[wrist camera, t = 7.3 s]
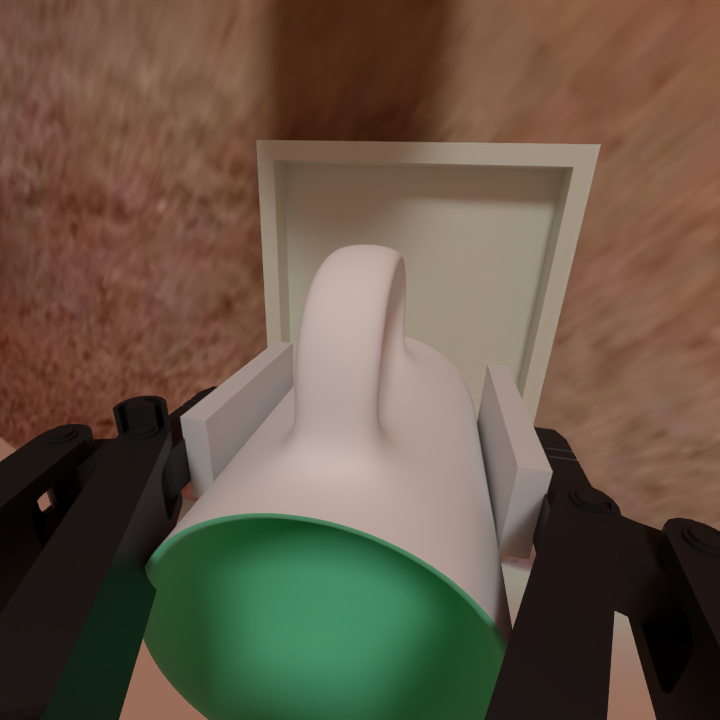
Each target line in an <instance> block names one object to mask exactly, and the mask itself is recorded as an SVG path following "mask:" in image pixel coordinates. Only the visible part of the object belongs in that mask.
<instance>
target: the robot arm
mask: <svg viewBox="0 0 720 720" xmlns="http://www.w3.org/2000/svg"><path fill="white" fill-rule="evenodd" d="M293 386H294V372H293V343H287V342H277V341H276V342H274V343H273V344H272V345H271V346H269V347H268V348H267V349H266V350H264V351H263V352H262V353H261V354H259V355H258V356H257V357H255V358H254V359H253V360H252V361H250V362H249V363H248V364H247V365H245V366H244V367H243V368H242V369H240V370H239V371H238V372H236V373H235V374H234V375H233V376H231V377H230V378H229V379H228V380H226V381H225V382H224V383H222V384H221V385H220V386H219V387H214V386H213V387H211V388H208V389H206V390H203V391H201V392H199V393H198V394H197V395H195V396H194V397H193V398H191V400H189V401H187V402H186V403H185V404H183V406H181V407H179V408H178V409H177V410H175V411H174V412H173V413H171V414H170V415H168V409H167V403H166V400H165V399H164V398H162V397H158V396H140V397H135V398H131V399H127V400H125V401H123V402H121V403H119V404H117V405H116V406H115V407H114V408H113V411H114V416H115V420H116V424H117V429H118V433H119V435H118V436H117V438H115V439H94V438H93V434H92V430H91V428H90V427H88V426H87V425H82V424H67V425H64V426H63V425H62V426H58V427H56V428H54V429H51V430H48V431H46V432H44V433H42V434H41V435H39V436H37V437H36V438H34V439H33V440H31V441H30V442H28V443H27V444H25V445H24V446H23V447H21V448H20V449H18V450H17V451H15V452H14V453H12V454H11V455H9V456H8V457H7V458H5V459H4V460H2V461H1V462H0V720H119V717H120V714H121V711H122V707H123V704H124V700H125V697H126V693H127V690H128V687H129V683H130V680H131V676H132V673H133V670H134V666H135V663H136V659H137V656H138V653H139V649H140V646H141V643H142V639H143V636H144V632H145V629H146V626H147V622H148V619H149V615H150V612H151V609H152V605H153V602H154V598H155V595H156V592H157V590H156V588H155V587H154V586H153V585H152V583H151V582H150V581H149V579H148V577H147V575H146V572H145V565H146V563H147V562H148V560H149V559H150V557H151V556H152V555H153V553H154V552H155V551H156V550H157V549H158V547H159V546H160V545H161V544H162V543H163V541H164V540H165V539H166V538H167V537H168V535H169V534H170V533H171V532H172V531H173V529H174V528H175V527H176V524H177V520H178V517H179V513H180V510H181V507H182V493H181V490H182V489H183V488H184V487H185V486H186V485H187V484H188V483H189V482H190V485H191V491H192V497H195V498H200V497H201V496H202V495H203V494H204V492H205V491H206V490H207V489H208V488H209V486H210V485H211V484H212V483H213V482H214V480H215V479H216V478H217V477H218V476H219V475H220V473H221V472H222V471H223V470H224V469H225V467H226V466H227V465H228V464H229V463H230V461H231V460H232V459H233V458H234V457H235V455H236V454H237V453H238V452H239V451H240V449H241V448H242V447H243V446H244V445H245V443H246V442H247V441H248V440H249V439H250V437H251V436H252V435H253V434H254V433H255V432H256V430H257V429H258V428H259V427H260V426H261V424H262V423H263V422H264V421H265V420H266V418H267V417H268V416H269V415H270V414H271V412H272V411H273V410H274V409H275V408H276V406H277V405H278V404H279V403H280V402H281V400H282V399H283V398H284V397H285V396H286V394H287V393H288V392H289V391H290V390H291V389H292V387H293ZM477 426H478V432H479V438H480V444H481V450H482V456H483V461H484V467H485V473H486V479H487V485H488V491H489V496H490V502H491V508H492V514H493V520H494V525H495V531H496V537H497V543H498V549H499V554H503V555H508V556H513V557H519V558H524V559H529V556H530V553H531V549H532V545H533V543H534V547H535V551H536V557H535V560H534V563H533V567H532V570H531V573H530V576H529V580H528V583H527V586H526V589H525V592H524V595H523V598H522V602H521V605H520V608H519V611H518V614H517V618H516V621H515V624H514V627H513V630H512V633H511V636H510V640H509V643H508V646H507V649H506V652H505V656H504V659H503V662H502V665H501V668H500V671H499V675H498V678H497V681H496V684H495V687H494V691H493V694H492V697H491V700H490V703H489V706H488V710H487V713H486V716H485V719H484V720H607V711H608V695H609V682H610V667H611V654H612V653H611V652H612V639H613V625H614V611H617V612H619V613H621V614H623V615H625V616H628V618H629V622H630V625H631V629H632V633H633V636H634V640H635V643H636V647H637V651H638V654H639V658H640V661H641V665H642V669H643V672H644V676H645V680H646V683H647V687H648V690H649V694H650V698H651V701H652V705H653V708H654V712H655V716H656V719H657V720H720V531H718V530H716V529H714V528H712V527H710V526H708V525H706V524H703V523H700V522H697V521H694V520H691V519H684V518H674V519H669V520H668V521H667V522H666V523H665V524H664V527H663V529H662V531H661V530H658V529H655V528H652V527H650V526H647V525H644V524H641V523H638V522H635V521H633V520H631V519H628V518H626V517H624V516H622V515H621V512H620V509H619V506H618V505H617V504H616V503H615V502H614V501H613V499H611V498H610V497H609V496H607V495H606V494H604V493H603V492H601V491H599V490H597V489H595V488H593V487H592V486H591V484H590V483H589V481H588V479H587V477H586V475H585V473H584V471H583V470H582V468H581V466H580V464H579V462H578V461H577V459H576V457H575V455H574V453H573V452H572V449H571V448H570V446H569V444H568V442H567V440H566V439H565V438H564V437H562V436H561V435H560V434H559V433H558V432H556V431H555V430H552V429H545V428H537V427H533V424H532V422H531V420H530V417H529V415H528V413H527V410H526V408H525V406H524V403H523V401H522V398H521V396H520V394H519V391H518V389H517V387H516V384H515V382H514V380H513V377H512V375H511V373H510V370H509V368H508V366H503V365H494V364H487V369H486V375H485V380H484V386H483V392H482V397H481V403H480V409H479V414H478V420H477ZM46 491H47V494H48V497H49V500H50V503H51V505H50V506H49V507H48V508H47V509H46V510H44V511H43V512H42V511H41V510H40V508H39V505H38V502H37V500H38V499H39V498H40V497H41V496H42V495H43V494H44V493H45V492H46Z"/></svg>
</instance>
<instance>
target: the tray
mask: <svg viewBox="0 0 720 720" xmlns="http://www.w3.org/2000/svg"><path fill="white" fill-rule="evenodd" d="M256 145H257V163H258V181H259V200H260V218H261V236H262V254H263V273H264V291H265V309H266V328H267V346H268V347H269V346H271V345H272V344H273V343H274V342H276V341H277V342H287V343H293V372H294V385H295V362H296V350H297V341H298V333H299V327H300V321H301V316H302V311H303V307H304V304H305V300H306V297H307V294H308V291H309V288H310V286H311V283H312V281H313V279H314V277H315V275H316V273H317V271H318V269H319V268H320V266H321V265H322V263H323V262H324V261H325V259H326V258H327V257H328V256H329V255H331V254H332V253H333V252H334V251H336V250H338V249H340V248H343V247H347V246H352V245H378V246H384V247H388V248H391V249H394V250H396V251H398V252H399V253H400V254H401V255H402V257H403V259H404V263H405V270H406V306H405V324H404V336H405V337H409V338H412V339H415V340H417V341H420V342H422V343H424V344H426V345H428V346H430V347H431V348H433V349H435V350H436V351H438V352H439V353H440V354H442V355H443V356H444V357H445V358H446V359H448V360H449V361H450V362H451V363H452V364H453V365H454V367H455V368H456V369H457V370H458V372H459V373H460V374H461V376H462V377H463V379H464V380H465V382H466V384H467V386H468V388H469V391H470V393H471V396H472V399H473V404H474V409H475V415H476V421H477V420H478V414H479V409H480V403H481V397H482V392H483V386H484V380H485V375H486V369H487V364H494V365H503V366H508V368H509V370H510V373H511V375H512V377H513V380H514V382H515V384H516V387H517V389H518V391H519V394H520V396H521V398H522V401H523V403H524V406H525V408H526V410H527V413H528V415H529V417H530V420H531V422H532V424H534V420H535V415H536V411H537V407H538V403H539V399H540V395H541V391H542V386H543V382H544V378H545V374H546V370H547V366H548V362H549V357H550V353H551V349H552V345H553V341H554V337H555V332H556V328H557V324H558V320H559V316H560V312H561V308H562V303H563V299H564V295H565V291H566V287H567V283H568V278H569V274H570V270H571V266H572V262H573V258H574V254H575V249H576V245H577V241H578V237H579V233H580V229H581V225H582V220H583V216H584V212H585V208H586V204H587V200H588V195H589V191H590V187H591V183H592V179H593V175H594V171H595V166H596V162H597V158H598V154H599V150H600V146H601V145H599V144H526V143H453V142H380V141H307V140H256Z"/></svg>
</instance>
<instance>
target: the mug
mask: <svg viewBox="0 0 720 720" xmlns="http://www.w3.org/2000/svg"><path fill="white" fill-rule="evenodd" d="M405 306H406V270H405V263H404V259H403V257H402V255H401V254H400V253H399V252H398V251H396V250H394V249H391V248H388V247H384V246H378V245H352V246H347V247H343V248H340V249H338V250H336V251H334V252H333V253H332V254H331V255H329V256H328V257H327V258H326V259H325V261H324V262H323V263H322V265H321V266H320V268H319V269H318V271H317V273H316V275H315V277H314V279H313V281H312V283H311V286H310V288H309V291H308V294H307V297H306V300H305V304H304V307H303V311H302V316H301V321H300V327H299V333H298V341H297V350H296V362H295V385H294V386H293V387H292V389H291V390H290V391H289V392H288V393H287V394H286V396H285V397H284V398H283V399H282V400H281V402H280V403H279V404H278V405H277V406H276V408H275V409H274V410H273V411H272V412H271V414H270V415H269V416H268V417H267V418H266V420H265V421H264V422H263V423H262V424H261V426H260V427H259V428H258V429H257V430H256V432H255V433H254V434H253V435H252V436H251V437H250V439H249V440H248V441H247V442H246V443H245V445H244V446H243V447H242V448H241V449H240V451H239V452H238V453H237V454H236V455H235V457H234V458H233V459H232V460H231V461H230V463H229V464H228V465H227V466H226V467H225V469H224V470H223V471H222V472H221V473H220V475H219V476H218V477H217V478H216V479H215V480H214V482H213V483H212V484H211V485H210V486H209V488H208V489H207V490H206V491H205V492H204V494H203V495H202V496H201V497H200V498H199V500H198V501H197V502H196V503H195V504H194V506H193V507H192V508H191V509H190V510H189V512H188V513H187V514H186V515H185V516H184V518H183V519H182V520H181V521H180V522H179V523H178V525H177V526H176V527H175V528H174V529H173V531H172V532H171V533H170V534H169V535H168V537H167V538H166V539H165V540H164V541H163V543H162V544H161V545H160V546H159V547H158V549H157V550H156V551H155V552H154V553H153V555H152V556H151V557H150V559H149V560H148V562H147V563H146V565H145V572H146V575H147V577H148V579H149V581H150V582H151V583H152V585H153V586H154V587H155V588H156V590H157V592H156V595H155V598H154V602H153V605H152V609H151V612H150V615H149V619H148V622H147V626H146V629H145V632H144V636H143V639H144V641H145V644H146V646H147V648H148V650H149V652H150V654H151V656H152V657H153V659H154V660H155V663H156V664H157V666H158V667H159V669H160V670H161V671H162V673H163V674H164V676H165V677H166V678H167V679H168V681H169V682H170V683H171V684H172V686H173V687H174V688H175V689H176V690H177V691H178V692H179V693H180V694H181V695H182V696H183V697H184V698H185V699H186V700H187V701H188V702H189V703H190V704H191V705H192V706H193V707H194V708H195V709H196V710H198V711H199V712H200V713H201V714H202V715H204V716H205V717H206V718H207V719H209V720H484V719H485V716H486V713H487V710H488V706H489V703H490V700H491V697H492V694H493V691H494V687H495V684H496V681H497V678H498V675H499V671H500V668H501V665H502V662H503V659H504V656H505V652H506V649H507V646H508V643H509V640H510V636H511V633H512V625H511V619H510V613H509V607H508V601H507V595H506V590H505V584H504V578H503V572H502V566H501V560H500V555H499V549H498V543H497V537H496V531H495V525H494V520H493V514H492V508H491V502H490V496H489V491H488V485H487V479H486V473H485V467H484V461H483V456H482V450H481V444H480V438H479V432H478V426H477V421H476V415H475V409H474V404H473V399H472V396H471V393H470V391H469V388H468V386H467V384H466V382H465V380H464V379H463V377H462V376H461V374H460V373H459V372H458V370H457V369H456V368H455V367H454V365H453V364H452V363H451V362H450V361H449V360H448V359H446V358H445V357H444V356H443V355H442V354H440V353H439V352H438V351H436V350H435V349H433V348H431V347H430V346H428V345H426V344H424V343H422V342H420V341H417V340H415V339H412V338H409V337H405V336H404V324H405Z"/></svg>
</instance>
